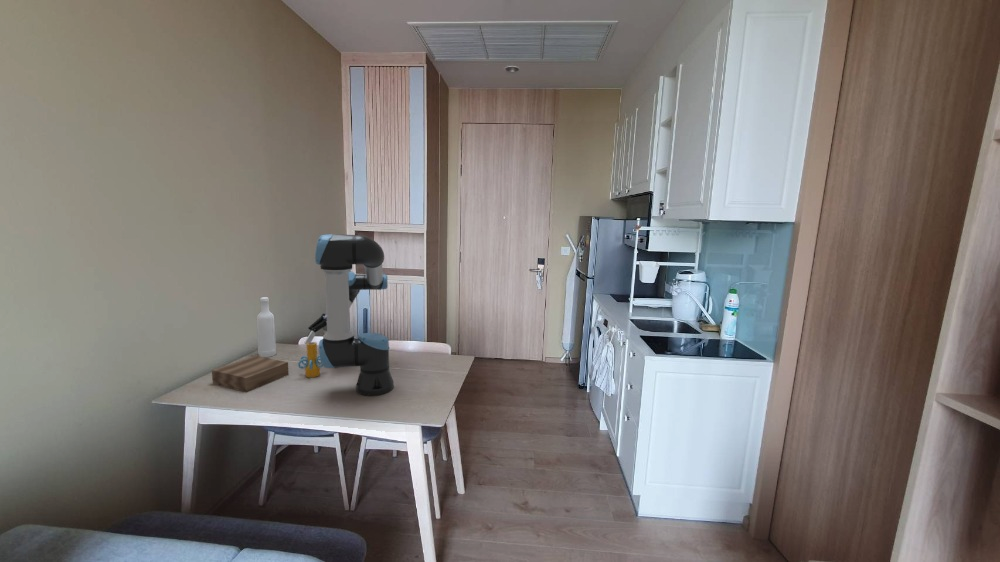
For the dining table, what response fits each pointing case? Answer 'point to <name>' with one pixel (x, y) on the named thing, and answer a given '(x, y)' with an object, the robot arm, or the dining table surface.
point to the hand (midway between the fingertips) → (317, 346)
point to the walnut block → (250, 373)
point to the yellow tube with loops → (311, 361)
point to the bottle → (266, 330)
